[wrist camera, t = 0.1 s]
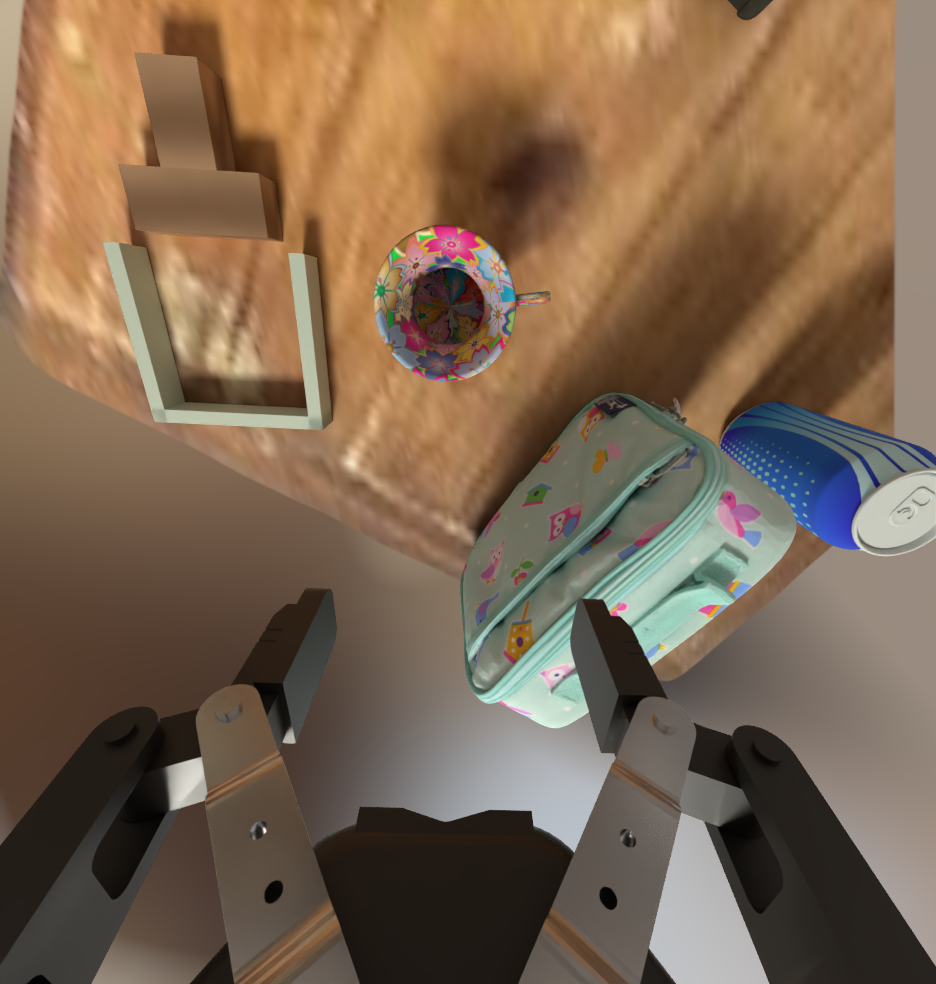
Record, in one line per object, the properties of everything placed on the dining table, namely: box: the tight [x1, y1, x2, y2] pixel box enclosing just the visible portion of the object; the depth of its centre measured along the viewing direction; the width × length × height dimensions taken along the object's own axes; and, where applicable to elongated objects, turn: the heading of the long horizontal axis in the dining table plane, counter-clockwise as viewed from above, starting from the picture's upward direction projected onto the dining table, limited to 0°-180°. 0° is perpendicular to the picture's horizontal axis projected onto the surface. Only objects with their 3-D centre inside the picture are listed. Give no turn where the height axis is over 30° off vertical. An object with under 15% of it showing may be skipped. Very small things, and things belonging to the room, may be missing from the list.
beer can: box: [719, 402, 936, 556], centre depth 34 cm, size 8×8×16 cm
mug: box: [374, 225, 551, 381], centre depth 31 cm, size 12×9×11 cm
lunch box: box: [460, 393, 796, 728], centre depth 34 cm, size 27×10×21 cm, turn 146°
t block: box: [118, 52, 283, 242], centre depth 30 cm, size 10×10×3 cm
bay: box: [103, 242, 332, 430], centre depth 36 cm, size 14×15×3 cm
